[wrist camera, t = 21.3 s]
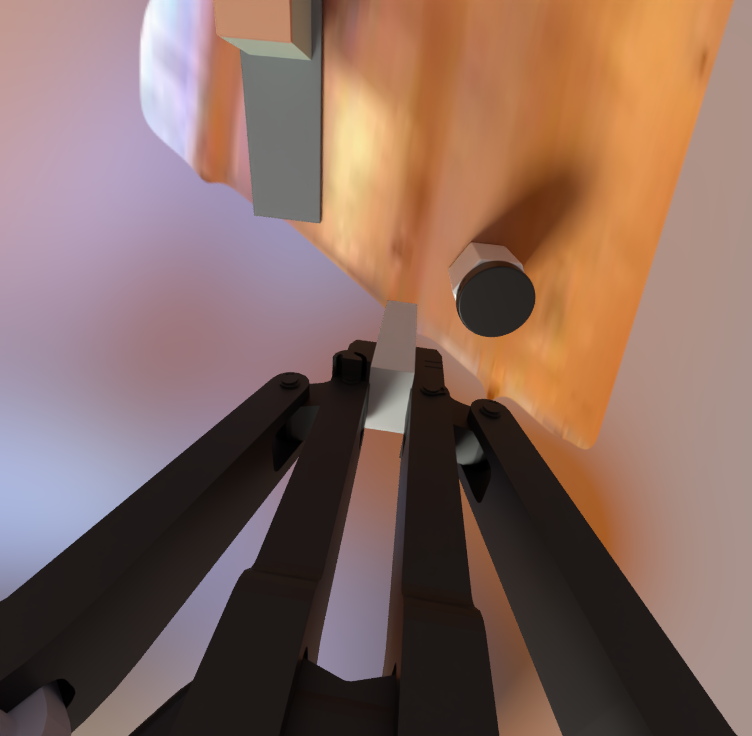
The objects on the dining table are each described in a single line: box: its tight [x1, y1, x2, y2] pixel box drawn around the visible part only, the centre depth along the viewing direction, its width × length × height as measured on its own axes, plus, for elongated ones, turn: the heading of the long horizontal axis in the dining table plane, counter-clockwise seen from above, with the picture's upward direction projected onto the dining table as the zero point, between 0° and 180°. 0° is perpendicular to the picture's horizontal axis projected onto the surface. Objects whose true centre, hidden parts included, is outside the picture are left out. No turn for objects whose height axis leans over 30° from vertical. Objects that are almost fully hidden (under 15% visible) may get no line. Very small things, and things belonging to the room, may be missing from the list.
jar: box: [448, 242, 535, 337], centre depth 42 cm, size 9×8×12 cm
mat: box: [240, 0, 322, 223], centre depth 39 cm, size 28×9×1 cm, turn 175°
